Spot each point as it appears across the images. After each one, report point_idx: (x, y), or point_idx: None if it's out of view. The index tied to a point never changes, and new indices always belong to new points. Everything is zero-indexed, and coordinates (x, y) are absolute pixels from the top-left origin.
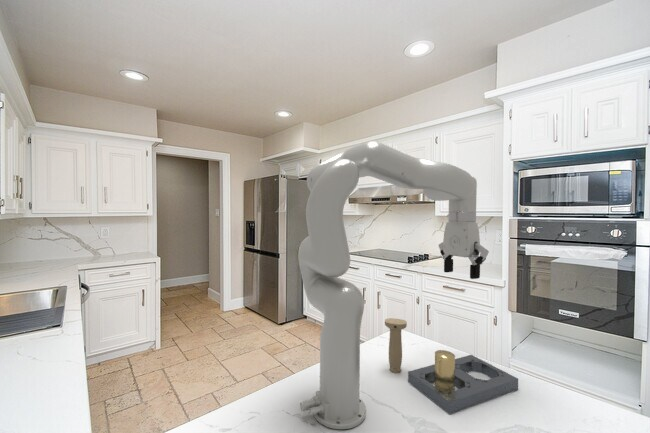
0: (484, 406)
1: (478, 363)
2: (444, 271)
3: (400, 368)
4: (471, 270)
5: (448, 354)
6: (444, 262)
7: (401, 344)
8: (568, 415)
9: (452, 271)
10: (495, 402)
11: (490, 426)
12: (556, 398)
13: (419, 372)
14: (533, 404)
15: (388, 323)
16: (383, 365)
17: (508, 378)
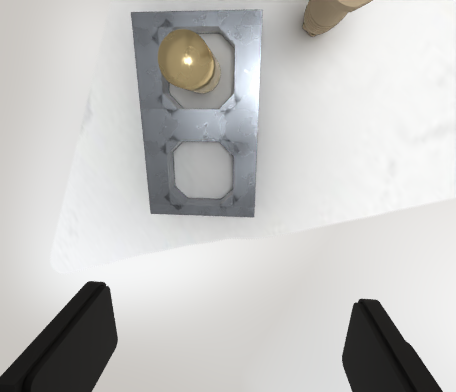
0: None
1: (223, 201)
2: (371, 300)
3: (303, 26)
4: (46, 328)
5: (179, 69)
6: (427, 382)
7: (319, 8)
8: (87, 208)
9: (342, 357)
10: None
11: (97, 67)
12: (121, 235)
13: (246, 35)
14: (120, 189)
15: None
16: None
17: (156, 198)
